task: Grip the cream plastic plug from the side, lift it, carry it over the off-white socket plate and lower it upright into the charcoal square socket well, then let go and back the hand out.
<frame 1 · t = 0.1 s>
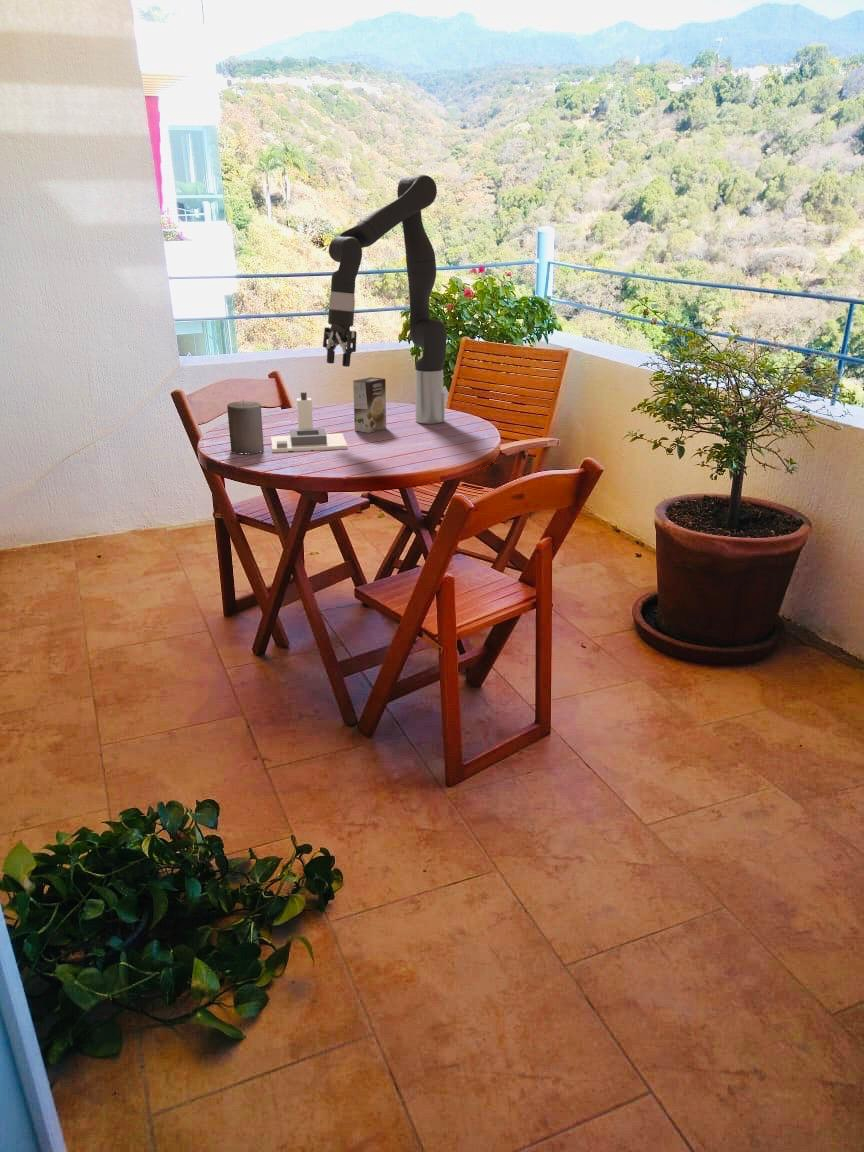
hand: (338, 364, 252), 22 cm above the table, tool pointing down, fingers open, 8 cm apart
coffee box: (370, 430, 271), on the table
pillar candle: (248, 451, 246), on the table
plug: (306, 433, 265), on the table
socket dock: (308, 444, 253), on the table
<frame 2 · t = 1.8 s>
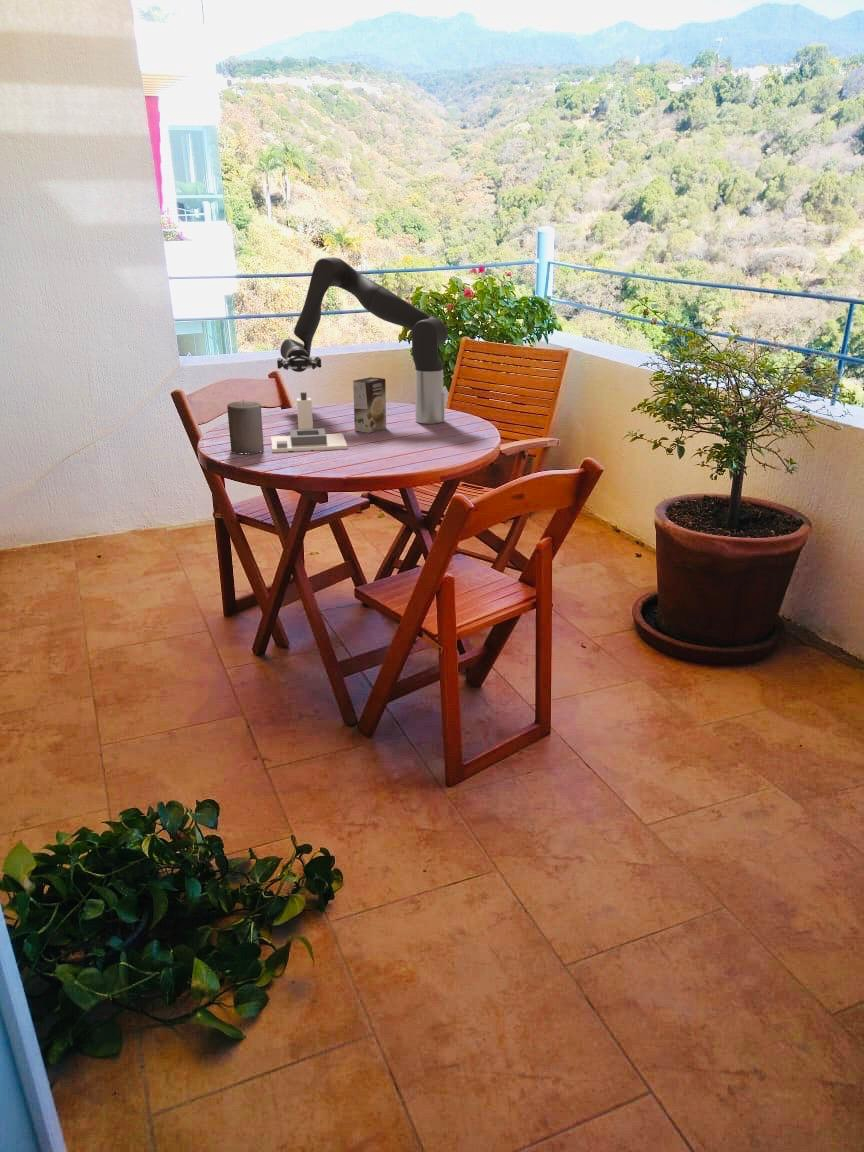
hand: (300, 366, 268), 19 cm above the table, tool horizontal, fingers open, 8 cm apart
nothing on the table moved.
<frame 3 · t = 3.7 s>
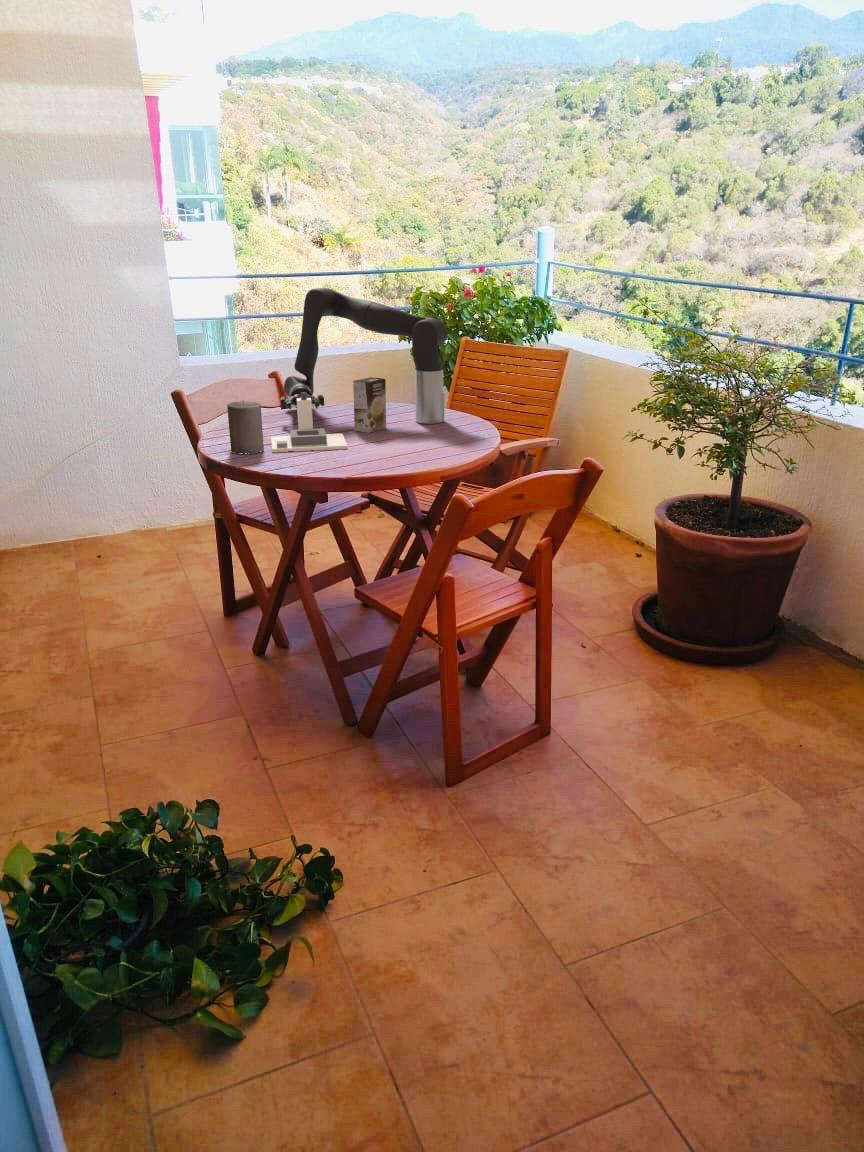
hand: (303, 405, 269), 7 cm above the table, tool horizontal, fingers open, 8 cm apart
nothing on the table moved.
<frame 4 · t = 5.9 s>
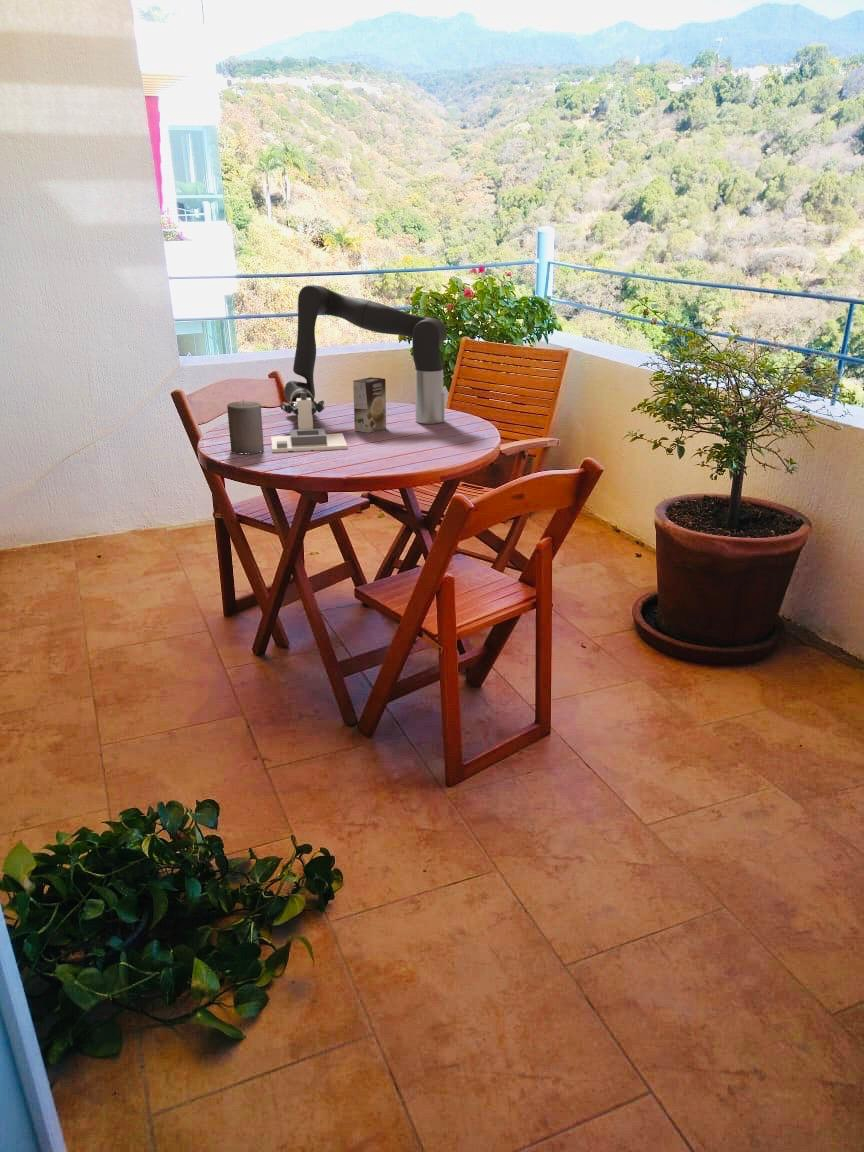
hand: (305, 411, 260), 8 cm above the table, tool horizontal, fingers closed on plug, 4 cm apart
plug: (306, 433, 265), on the table, touching gripper
everything else where it was.
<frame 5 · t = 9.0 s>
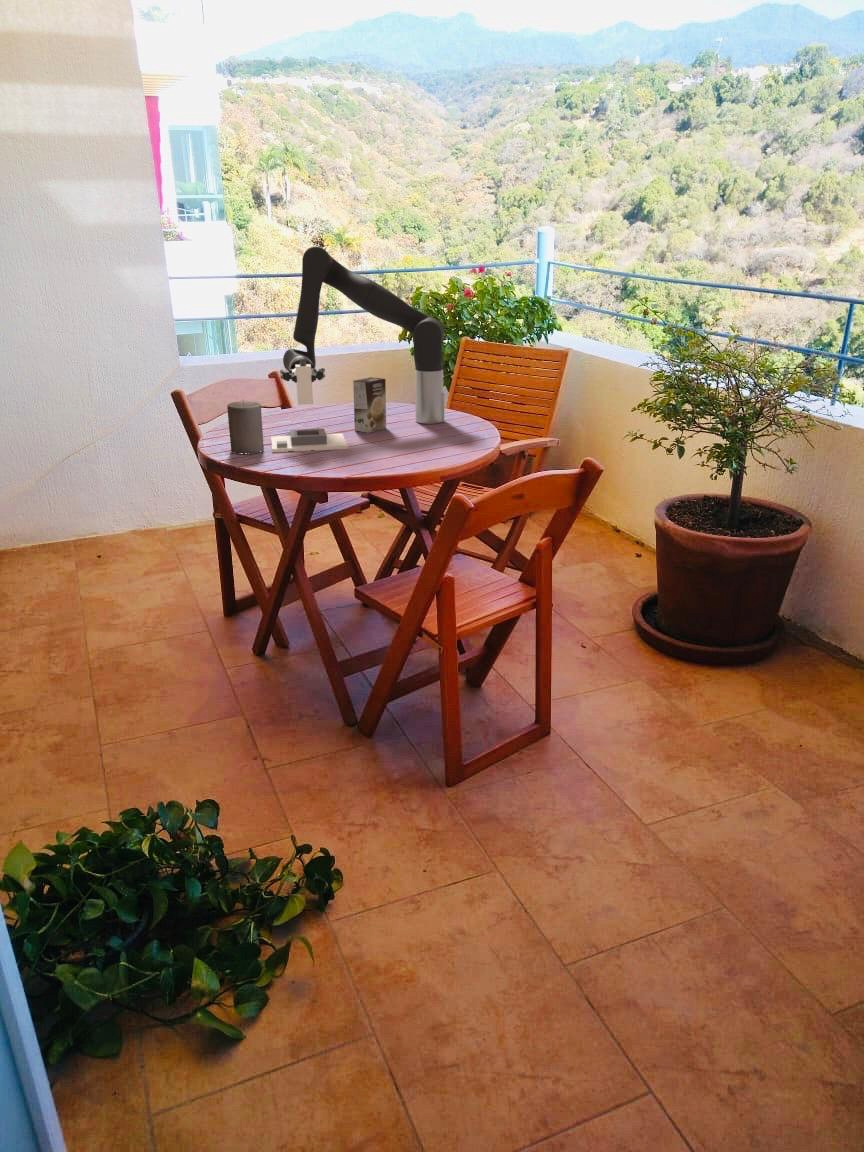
hand: (304, 378, 243), 20 cm above the table, tool horizontal, fingers closed on plug, 4 cm apart
plug: (305, 403, 248), point 12 cm above the table, touching gripper
everything else where it was.
when the fingers open (9 cm above the table, at t = 12.0 s): plug stays where it is, resting on socket dock.
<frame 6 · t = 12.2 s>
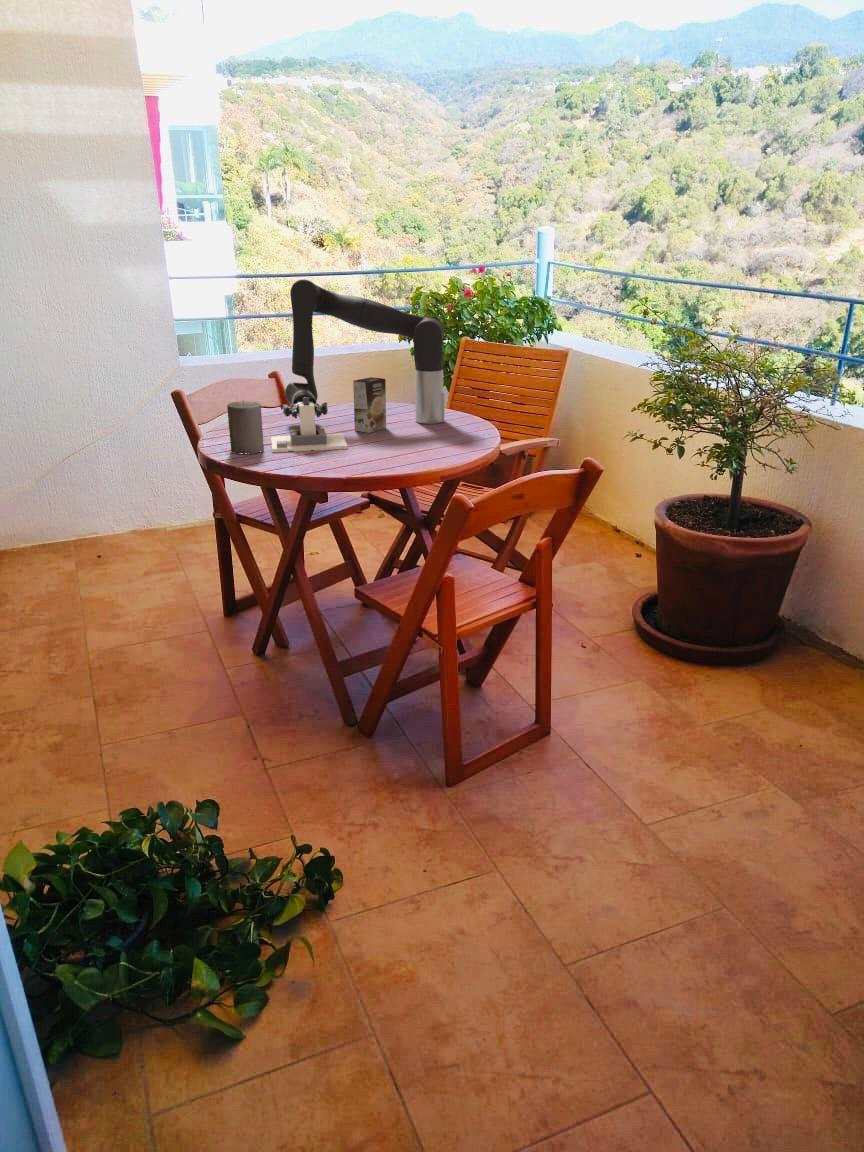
hand: (307, 414, 247), 9 cm above the table, tool horizontal, fingers open, 6 cm apart
plug: (308, 440, 252), point 1 cm above the table, touching socket dock
everything else where it was.
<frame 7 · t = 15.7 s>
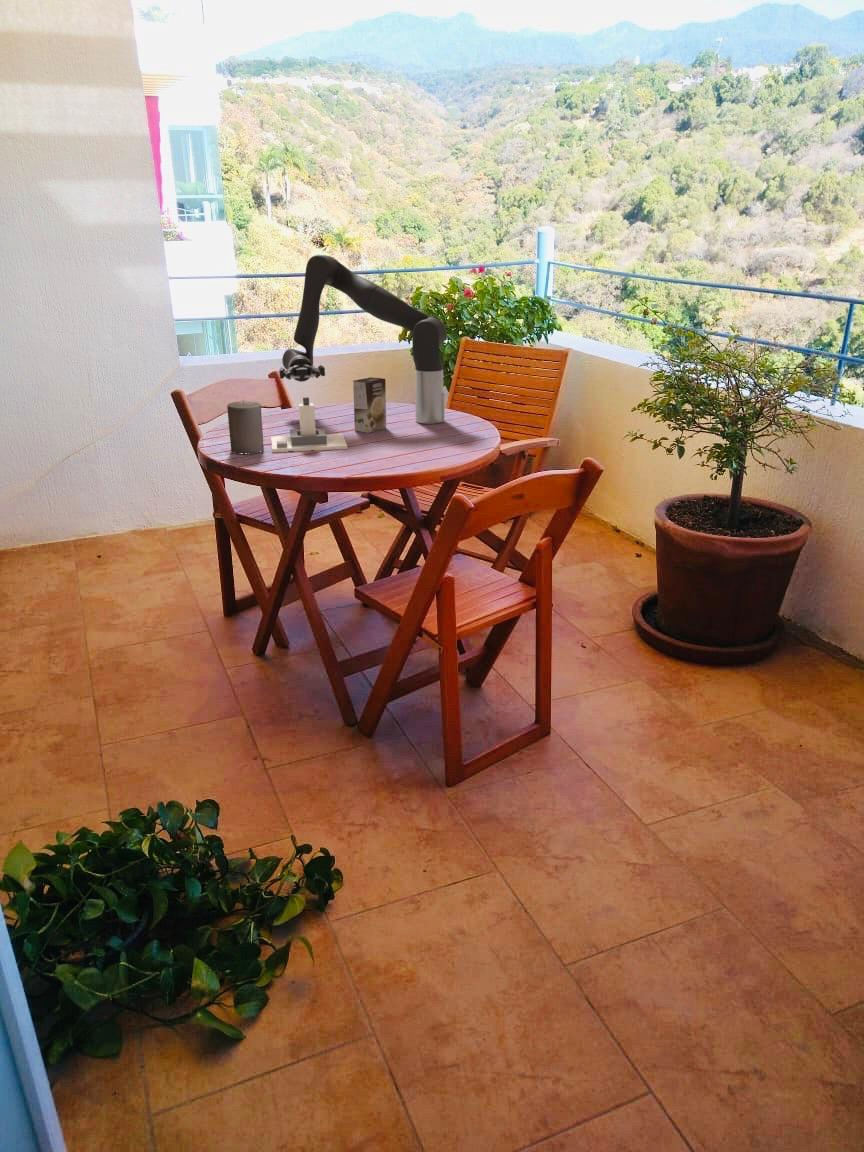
hand: (303, 375, 258), 18 cm above the table, tool horizontal, fingers open, 8 cm apart
nothing on the table moved.
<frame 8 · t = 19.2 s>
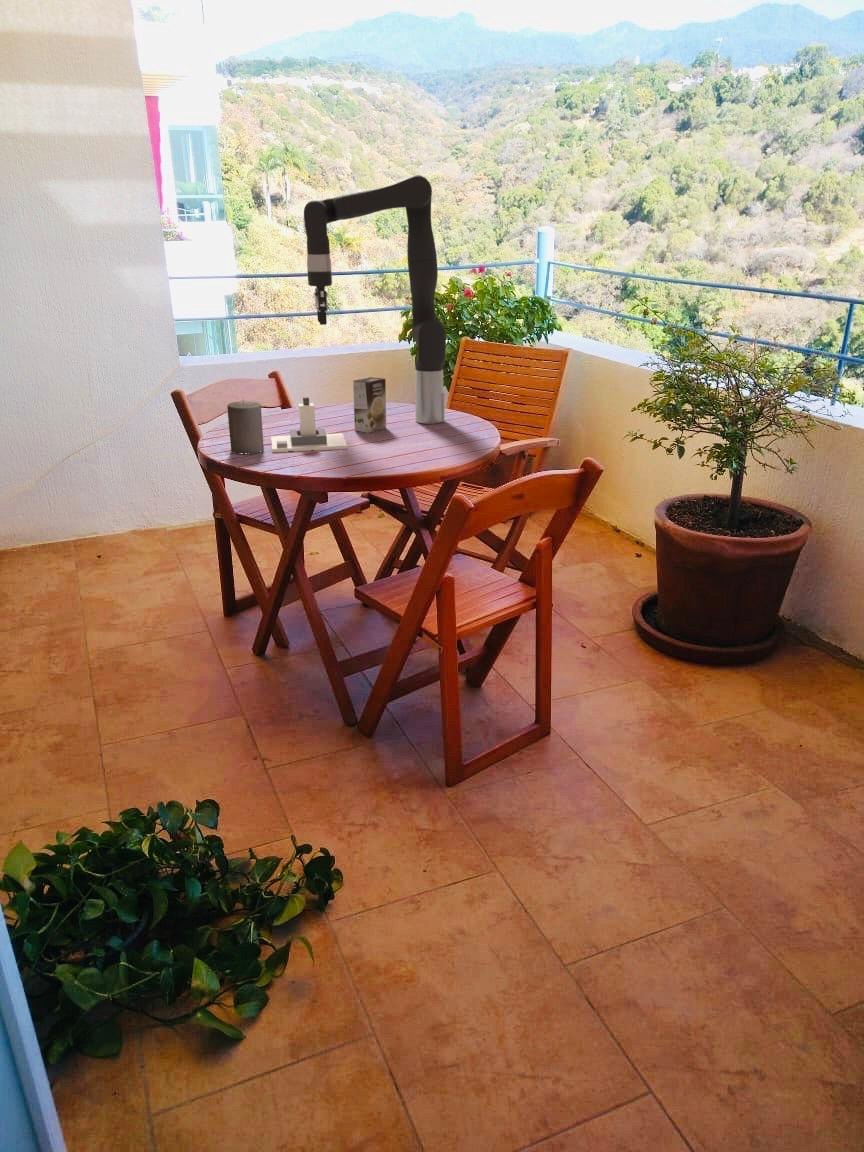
hand: (322, 323, 269), 32 cm above the table, tool pointing down, fingers open, 8 cm apart
nothing on the table moved.
at the end: plug 0.0 cm off-centre on the socket dock, point 1.0 cm above the socket dock's base; plug tilted 0°; the gripper is holding nothing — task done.
